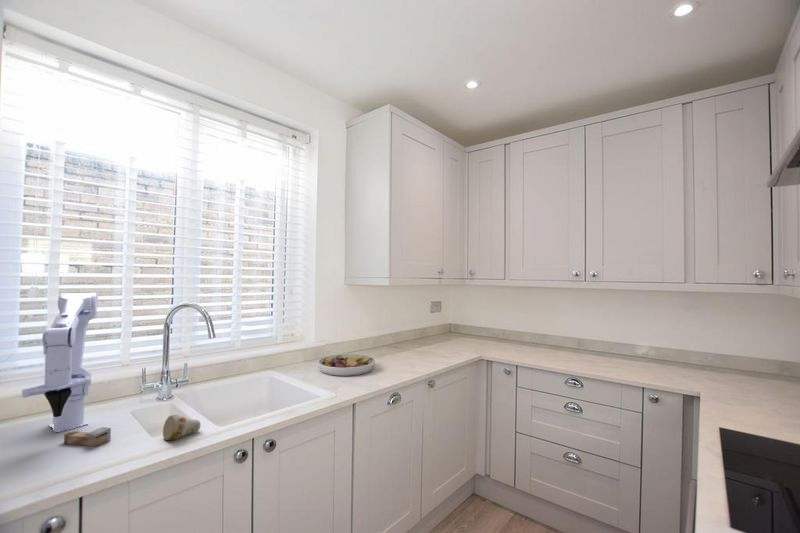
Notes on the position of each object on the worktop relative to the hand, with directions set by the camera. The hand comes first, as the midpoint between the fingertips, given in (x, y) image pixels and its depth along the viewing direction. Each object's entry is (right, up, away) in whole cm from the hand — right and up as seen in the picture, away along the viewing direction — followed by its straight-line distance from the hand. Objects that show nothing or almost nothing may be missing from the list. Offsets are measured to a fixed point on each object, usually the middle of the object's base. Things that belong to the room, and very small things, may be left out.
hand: (57, 416), depth 107 cm
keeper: (+11, -9, +1) cm, 14 cm away
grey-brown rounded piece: (+32, -9, +7) cm, 34 cm away
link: (+7, -8, +1) cm, 11 cm away
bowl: (+71, -11, +88) cm, 114 cm away
